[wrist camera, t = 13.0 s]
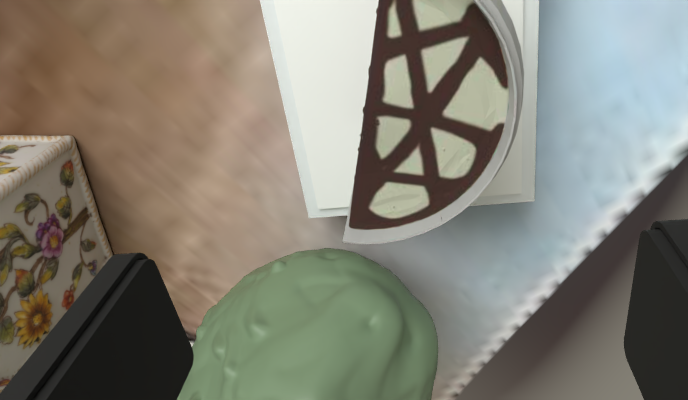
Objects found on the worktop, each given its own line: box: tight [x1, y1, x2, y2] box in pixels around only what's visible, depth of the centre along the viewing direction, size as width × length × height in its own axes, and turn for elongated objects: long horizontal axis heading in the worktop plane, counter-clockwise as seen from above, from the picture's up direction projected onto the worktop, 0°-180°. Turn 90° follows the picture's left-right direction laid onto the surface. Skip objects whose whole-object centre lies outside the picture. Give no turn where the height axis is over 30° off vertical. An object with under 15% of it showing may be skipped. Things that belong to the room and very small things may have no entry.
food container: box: [342, 0, 524, 244], centre depth 23 cm, size 12×6×10 cm, turn 174°
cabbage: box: [177, 248, 438, 400], centre depth 33 cm, size 16×19×20 cm
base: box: [260, 0, 539, 218], centre depth 29 cm, size 14×20×4 cm
